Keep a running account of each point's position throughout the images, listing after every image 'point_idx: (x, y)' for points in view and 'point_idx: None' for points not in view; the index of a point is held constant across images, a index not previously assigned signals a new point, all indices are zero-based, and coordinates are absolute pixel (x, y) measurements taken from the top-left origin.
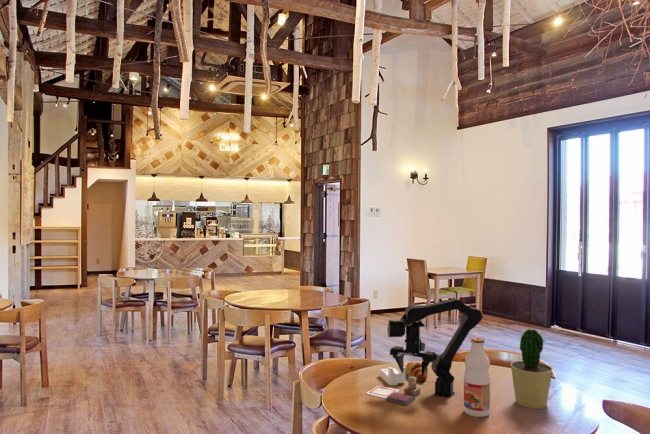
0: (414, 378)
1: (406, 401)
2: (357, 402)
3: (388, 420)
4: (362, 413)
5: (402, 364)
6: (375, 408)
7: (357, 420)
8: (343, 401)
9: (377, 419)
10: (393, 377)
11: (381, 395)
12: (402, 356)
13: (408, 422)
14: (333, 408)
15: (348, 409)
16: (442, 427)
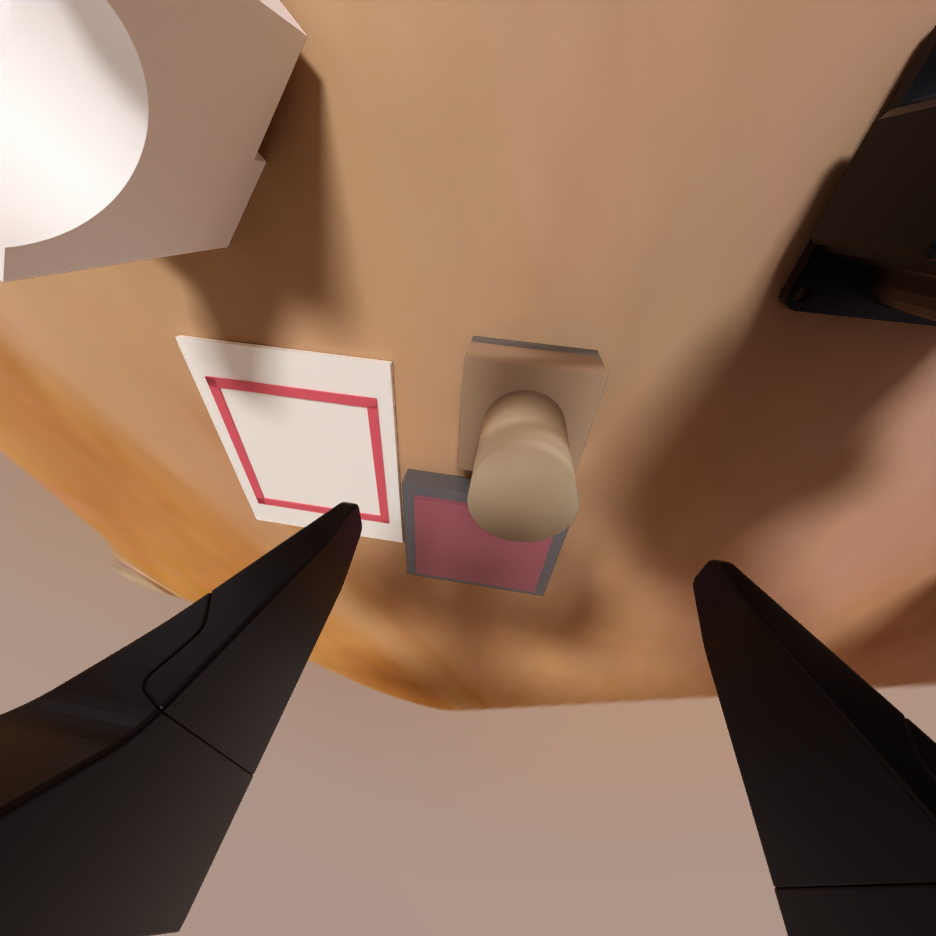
0: (557, 520)
1: (535, 583)
2: None
3: (510, 679)
4: (401, 658)
5: (281, 633)
6: (417, 625)
7: (419, 687)
8: None
9: (472, 678)
10: (165, 218)
11: None
12: (54, 871)
13: (587, 680)
14: None
15: (340, 646)
16: None
